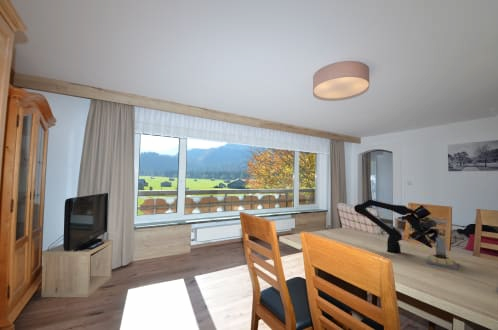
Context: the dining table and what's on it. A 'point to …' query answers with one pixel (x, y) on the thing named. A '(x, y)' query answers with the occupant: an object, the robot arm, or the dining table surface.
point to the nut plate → (441, 261)
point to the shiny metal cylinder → (440, 247)
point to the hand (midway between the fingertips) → (437, 246)
